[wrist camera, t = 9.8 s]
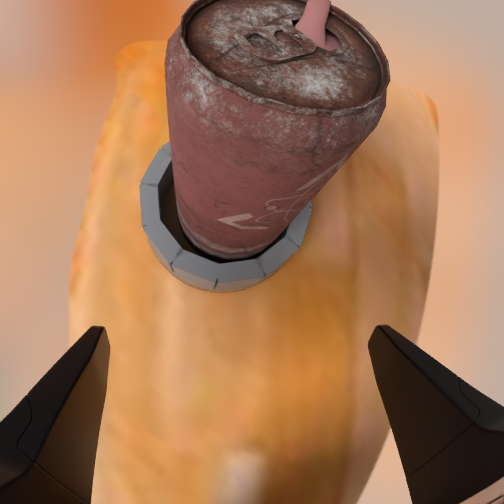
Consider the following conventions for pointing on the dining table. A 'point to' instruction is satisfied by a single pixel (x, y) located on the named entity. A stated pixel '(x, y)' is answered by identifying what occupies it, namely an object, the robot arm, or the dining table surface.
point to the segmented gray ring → (183, 255)
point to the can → (264, 114)
